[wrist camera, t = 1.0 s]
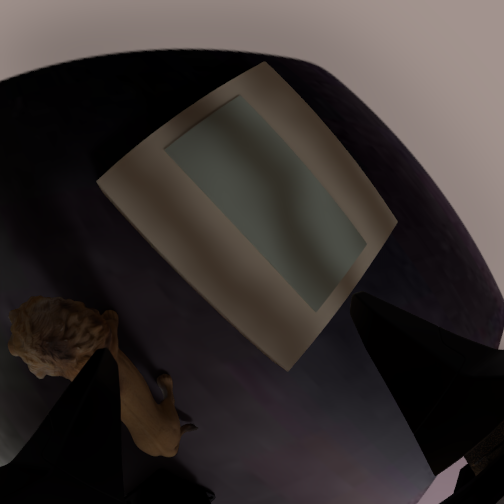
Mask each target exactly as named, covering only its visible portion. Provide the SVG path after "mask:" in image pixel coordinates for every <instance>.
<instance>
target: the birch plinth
mask: <svg viewBox="0 0 504 504" xmlns="http://www.w3.org/2000/svg"><path fill="white" fill-rule="evenodd" d="M96 182H97V184H98V185H99V187H100V188H101V190H102V192H103V193H104V194H105V196H106V197H107V198H108V199H109V200H110V201H111V202H112V203H113V205H114V206H115V207H116V208H117V209H118V210H119V211H120V212H121V214H122V215H123V216H124V217H125V218H126V219H127V220H128V221H129V222H130V224H131V225H132V226H133V227H134V228H135V229H136V230H137V231H138V232H139V233H140V234H141V235H142V236H143V238H144V239H145V240H146V241H147V242H148V243H149V244H150V245H151V246H152V247H153V248H154V249H155V250H156V251H157V252H158V253H159V254H160V255H161V256H162V257H163V258H164V260H165V261H166V262H167V263H168V264H169V265H170V266H171V267H172V268H173V269H174V270H175V271H176V272H177V273H178V274H179V275H180V276H181V277H182V278H183V279H184V280H185V281H186V282H187V283H188V284H189V285H190V286H191V287H192V288H193V289H194V290H195V291H196V292H197V293H199V294H200V295H201V296H202V297H203V298H204V299H205V300H206V301H207V302H208V303H209V304H210V305H211V306H212V307H213V308H214V309H215V310H216V311H217V312H218V313H219V314H221V315H222V316H223V317H224V318H225V319H226V320H227V321H228V322H229V323H230V324H231V325H232V326H233V327H235V328H236V329H237V330H238V331H239V332H240V333H241V334H242V335H243V336H244V337H246V338H247V339H248V340H249V341H250V342H251V343H252V344H253V345H255V346H256V347H257V348H258V349H259V350H260V351H261V352H262V353H264V354H265V355H266V356H267V357H268V358H269V359H271V360H272V361H273V362H275V363H276V364H277V365H279V366H280V367H282V368H283V369H285V370H286V371H287V372H288V371H289V370H290V369H291V367H292V366H293V365H294V364H295V363H296V362H297V360H298V359H299V358H300V357H301V356H302V354H303V353H304V352H305V351H306V350H307V348H308V347H309V346H310V345H311V344H312V342H313V341H314V340H315V339H316V337H317V336H318V335H319V334H320V332H321V331H322V330H323V329H324V327H325V326H326V325H327V323H328V322H329V321H330V320H331V318H332V317H333V316H334V314H335V313H336V312H337V310H338V309H339V308H340V306H341V305H342V304H343V302H344V301H345V300H346V298H347V297H348V295H349V294H350V293H351V291H352V290H353V289H354V287H355V286H356V284H357V283H358V281H359V280H360V279H361V277H362V276H363V274H364V273H365V271H366V270H367V269H368V267H369V266H370V264H371V263H372V261H373V260H374V258H375V257H376V255H377V254H378V252H379V251H380V249H381V247H382V246H383V244H384V243H385V241H386V240H387V238H388V237H389V235H390V233H391V232H392V230H393V229H394V227H395V225H396V224H397V220H396V218H395V217H394V215H393V214H392V212H391V211H390V209H389V208H388V206H387V205H386V203H385V202H384V200H383V199H382V197H381V196H380V195H379V193H378V192H377V190H376V189H375V187H374V186H373V185H372V183H371V182H370V180H369V179H368V178H367V176H366V175H365V174H364V172H363V171H362V170H361V168H360V167H359V166H358V164H357V163H356V162H355V160H354V159H353V158H352V156H351V155H350V154H349V153H348V151H347V150H346V149H345V148H344V146H343V145H342V144H341V143H340V141H339V140H338V139H337V138H336V137H335V135H334V134H333V133H332V132H331V131H330V129H329V128H328V127H327V126H326V125H325V124H324V122H323V121H322V120H321V119H320V118H319V117H318V116H317V114H316V113H315V112H314V111H313V110H312V109H311V108H310V107H309V105H308V104H307V103H306V102H305V101H304V100H303V99H302V98H301V97H300V96H299V95H298V94H297V93H296V92H295V91H294V90H293V88H292V87H291V86H290V85H289V84H288V83H287V82H286V81H285V80H284V79H283V78H282V77H281V76H280V75H279V74H278V73H277V72H276V71H275V70H273V69H272V68H271V67H270V66H269V65H268V64H267V63H266V62H263V63H261V64H259V65H257V66H255V67H253V68H251V69H250V70H248V71H246V72H244V73H242V74H241V75H239V76H237V77H236V78H234V79H232V80H230V81H229V82H227V83H225V84H224V85H222V86H220V87H219V88H217V89H216V90H214V91H212V92H211V93H209V94H208V95H206V96H205V97H203V98H201V99H200V100H198V101H197V102H195V103H194V104H192V105H191V106H190V107H188V108H187V109H185V110H184V111H182V112H181V113H179V114H178V115H177V116H175V117H174V118H172V119H171V120H170V121H168V122H167V123H166V124H164V125H163V126H162V127H160V128H159V129H158V130H156V131H155V132H154V133H152V134H151V135H150V136H149V137H147V138H146V139H145V140H143V141H142V142H141V143H140V144H138V145H137V146H136V147H135V148H134V149H132V150H131V151H130V152H129V153H128V154H126V155H125V156H124V157H123V158H122V159H121V160H119V161H118V162H117V163H116V164H115V165H114V166H113V167H111V168H110V169H109V170H108V171H107V172H106V173H105V174H104V175H103V176H102V177H100V178H99V179H98V180H97V181H96Z"/></svg>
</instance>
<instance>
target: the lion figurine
mask: <svg viewBox="0 0 504 504" xmlns="http://www.w3.org/2000/svg"><path fill="white" fill-rule="evenodd" d="M9 318H10V320H11V323H12V326H11V332H12V335H11V337H10V340H9V342H8V348H9V351H10V353H11V354H12V355H14V356H20V357H21V358H22V359H23V361H24V362H25V363H27V364H28V368H29V370H30V371H31V372H32V373H34V374H35V375H36V376H37V377H38V378H39V379H42V378H44V376H45V375H46V374H48V375H50V376H63V377H65V378H66V379H70V381H73V380H74V378H75V377H76V376H77V374H78V373H79V372H80V370H81V369H82V368H83V366H84V365H85V364H86V362H87V361H88V360H89V359H90V357H91V356H92V355H93V353H94V352H95V351H96V350H97V349H100V348H108V349H109V350H110V352H111V354H112V355H113V357H114V358H115V360H116V361H117V364H118V368H119V384H120V397H121V420H122V421H123V423H124V424H125V425H126V426H127V428H128V429H129V431H130V433H131V435H132V438H133V440H134V442H135V444H136V445H137V446H138V448H140V449H141V450H142V451H144V452H145V453H147V454H149V455H151V456H159V455H162V456H165V457H173V456H175V455H176V453H177V451H178V447H179V442H180V438H181V436H182V435H183V434H184V433H185V432H187V431H193V430H197V429H198V427H196V426H195V425H193V424H186V425H183V426H182V427H180V421H179V417H178V414H177V412H176V409H175V406H174V402H175V401H174V396H173V392H172V387H173V384H172V379H171V377H170V375H168V374H162V375H160V376H158V378H157V384H158V386H159V387H160V389H161V390H162V392H163V396H164V400H162V402H161V403H160V405H159V404H157V403H156V402H155V400H154V398H153V396H152V394H151V392H150V390H149V387H148V385H147V383H146V381H145V380H144V378H143V377H142V375H141V374H140V372H139V371H138V370H137V368H136V367H135V366H134V365H133V363H132V362H131V361H130V360H129V358H128V357H127V356H126V355H125V354H124V353H123V352H122V351H121V350H120V349H119V348H118V337H117V328H118V315H117V313H116V312H115V311H113V310H106V311H105V312H104V313H103V314H102V315H100V314H99V311H98V310H97V309H94V308H87V307H86V306H85V304H84V303H82V302H80V301H73V300H71V299H67V300H65V299H63V298H61V297H55V298H50V297H47V298H44V297H42V296H41V295H40V296H36V297H33V296H32V297H30V298H29V300H28V301H27V302H25V303H23V304H22V305H21V306H20V307H19V308H18V309H15V310H12V311H10V312H9Z"/></svg>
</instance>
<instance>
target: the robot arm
mask: <svg viewBox="0 0 504 504" xmlns="http://www.w3.org/2000/svg"><path fill="white" fill-rule="evenodd" d="M350 314H351V317H352V320H353V322H354V324H355V326H356V328H357V331H358V333H359V335H360V337H361V340H362V342H363V344H364V346H365V348H366V350H367V352H368V354H369V355H370V357H371V359H372V360H373V362H374V364H375V366H376V367H377V369H378V371H379V373H380V374H381V376H382V378H383V380H384V381H385V383H386V385H387V387H388V388H389V390H390V392H391V394H392V396H393V397H394V399H395V401H396V403H397V405H398V406H399V408H400V410H401V412H402V414H403V416H404V417H405V419H406V421H407V423H408V425H409V427H410V429H411V430H412V432H413V434H414V436H415V438H416V440H417V442H418V444H419V446H420V448H421V450H422V452H423V454H424V456H425V458H426V460H427V462H428V464H429V466H430V468H431V470H432V472H433V474H434V475H435V476H437V475H438V474H440V473H441V472H442V471H444V470H445V469H447V468H448V467H450V466H451V465H452V464H454V463H455V462H456V461H458V460H459V459H461V458H462V457H463V456H464V458H465V459H466V461H467V463H468V464H467V465H465V466H464V467H463V468H462V469H460V472H459V476H458V480H457V483H456V487H455V490H454V493H453V494H452V495H451V496H449V497H448V498H447V499H445V500H444V501H442V502H441V503H439V504H504V350H498V349H494V348H491V347H488V346H485V345H482V344H480V343H477V342H474V341H471V340H469V339H466V338H464V337H461V336H458V335H456V334H454V333H452V332H449V331H447V330H445V329H443V328H441V327H438V326H436V325H434V324H432V323H430V322H428V321H426V320H424V319H422V318H419V317H417V316H415V315H413V314H411V313H409V312H407V311H405V310H402V309H400V308H398V307H396V306H394V305H392V304H389V303H387V302H385V301H383V300H381V299H379V298H377V297H374V296H372V295H370V294H368V293H366V292H363V291H361V292H358V293H354V294H353V295H352V299H351V307H350ZM161 474H164V475H161ZM209 496H211V497H209ZM215 498H216V497H215V494H214V493H213V492H210V491H208V490H206V489H205V488H203V487H201V486H199V485H196V484H194V483H192V482H190V481H188V480H186V479H182V478H180V477H178V476H176V475H174V474H172V473H170V472H168V471H166V470H164V469H159V470H157V471H156V472H155V473H154V474H153V475H151V476H150V477H149V478H148V479H147V480H145V481H144V482H143V483H142V484H140V485H139V486H138V487H137V488H136V489H134V490H133V491H132V492H131V493H129V494H128V495H127V496H125V497H124V487H123V474H122V455H121V397H120V384H119V368H118V364H117V361H116V360H115V358H114V357H113V355H112V354H111V352H110V350H109V349H108V348H100V349H97V350H96V351H95V352H94V353H93V355H92V356H91V357H90V359H89V360H88V361H87V362H86V364H85V365H84V366H83V368H82V369H81V370H80V372H79V373H78V374H77V376H76V377H75V378H74V380H73V381H72V382H71V384H70V385H69V386H68V388H67V389H66V390H65V392H64V393H63V394H62V396H61V397H60V398H59V400H58V401H57V403H56V404H55V405H54V407H53V408H52V410H51V411H50V412H49V415H47V417H46V418H45V420H44V421H43V422H42V424H41V425H40V426H39V428H38V429H37V431H36V432H35V433H34V434H33V436H32V437H31V438H30V440H29V441H28V442H27V443H26V444H25V446H24V447H23V448H22V449H21V451H20V452H19V453H18V454H17V456H16V457H15V458H14V459H13V460H12V461H11V462H10V463H8V464H7V465H4V466H2V467H0V504H211V503H210V502H212V501H213V500H214V499H215Z"/></svg>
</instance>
